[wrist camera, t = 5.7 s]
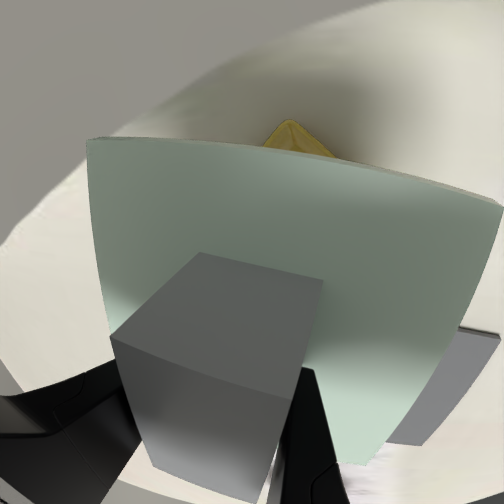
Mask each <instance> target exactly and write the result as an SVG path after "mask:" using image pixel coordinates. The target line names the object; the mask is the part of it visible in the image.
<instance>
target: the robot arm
mask: <svg viewBox="0 0 504 504" xmlns="http://www.w3.org/2000/svg"><path fill="white" fill-rule="evenodd" d="M141 441H142V438H141V435H140V433H139V430H138V427H137V425H136V422H135V419H134V416H133V413H132V411H131V408H130V405H129V402H128V399H127V396H126V393H125V390H124V386H123V383H122V380H121V377H120V373H119V370H118V366H117V363H116V359H113V360H111V361H109V362H106V363H104V364H102V365H100V366H97V367H95V368H93V369H91V370H88V371H86V373H85V372H83V373H81V374H79V375H76V376H74V377H71V378H69V379H66V380H64V381H61V382H58V383H55V384H52V385H49V386H46V387H43V388H39V389H36V390H32V391H29V392H25V393H22V394H18V395H13V396H2V395H0V504H100V503H101V502H102V500H103V499H104V497H105V496H106V494H107V493H108V491H109V489H110V488H111V487H112V485H113V483H114V482H115V481H116V479H117V478H118V476H119V475H120V473H121V471H122V470H123V468H124V467H125V465H126V464H127V462H128V461H129V459H130V458H131V456H132V455H133V453H134V452H135V450H136V449H137V447H138V446H139V444H140V443H141ZM336 462H337V457H336V453H335V449H334V445H333V441H332V437H331V433H330V429H329V425H328V421H327V417H326V413H325V409H324V405H323V401H322V398H321V394H320V390H319V386H318V382H317V378H316V375H315V371H314V370H313V369H311V368H306V367H301V371H300V374H299V378H298V381H297V385H296V388H295V392H294V395H293V398H292V402H291V405H290V408H289V411H288V415H287V418H286V421H285V424H284V427H283V430H282V433H281V436H280V439H279V443H278V449H277V454H276V459H275V464H274V469H273V474H272V479H271V484H270V489H269V493H268V498H267V503H266V504H350V502H349V499H348V497H347V494H346V491H345V488H344V484H343V481H342V477H341V473H340V469H339V465H338V463H336Z"/></svg>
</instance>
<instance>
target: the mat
mask: <svg viewBox="0 0 504 504" xmlns="http://www.w3.org/2000/svg"><path fill="white" fill-rule="evenodd" d="M500 341H501V338H500V336H498V335H493V334H487V333H482V332H477V331H472V330H467V329H463V328H458V329H457V331H456V333H455V335H454V337H453V339H452V341H451V343H450V344H449V346H448V348H447V350H446V352H445V354H444V355H443V357H442V359H441V361H440V362H439V364H438V366H437V367H436V369H435V371H434V372H433V374H432V376H431V377H430V379H429V381H428V382H427V384H426V385H425V387H424V389H423V390H422V392H421V393H420V395H419V396H418V398H417V399H416V401H415V402H414V404H413V405H412V407H411V408H410V409H409V411H408V412H407V414H406V415H405V416H404V418H403V419H402V421H401V422H400V423H399V425H398V426H397V427H396V429H395V430H394V431H393V433H392V434H391V435H390V437H389V438H388V439H387V440H386V442H388V443H395V444H404V445H414V446H422V445H423V443H424V442H425V441H426V440H427V439H428V438H429V437H430V436H431V435H432V434H433V433H434V431H435V430H436V429H437V428H438V427H439V426H440V425H441V423H442V422H443V421H444V420H445V419H446V418H447V416H448V415H449V414H450V413H451V411H452V410H453V409H454V408H455V406H456V405H457V404H458V403H459V401H460V400H461V399H462V397H463V396H464V395H465V394H466V392H467V391H468V389H469V388H470V387H471V385H472V384H473V383H474V381H475V380H476V378H477V377H478V375H479V374H480V373H481V371H482V370H483V368H484V367H485V365H486V364H487V362H488V361H489V359H490V357H491V356H492V354H493V353H494V351H495V349H496V348H497V346H498V345H499V343H500Z"/></svg>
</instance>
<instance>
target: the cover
mask: <svg viewBox="0 0 504 504" xmlns="http://www.w3.org/2000/svg"><path fill="white" fill-rule="evenodd" d="M86 144H87V145H86V147H87V173H88V189H89V202H90V213H91V222H92V231H93V239H94V246H95V254H96V260H97V267H98V273H99V278H100V284H101V290H102V295H103V300H104V305H105V310H106V314H107V319H108V323H109V328H110V332H111V335H110V340H111V344H112V348H113V352H114V356H115V359H116V363H117V366H118V370H119V373H120V377H121V380H122V383H123V386H124V390H125V393H126V396H127V399H128V402H129V405H130V408H131V411H132V413H133V416H134V419H135V422H136V425H137V427H138V430H139V433H140V435H141V438H142V440H143V443H144V445H145V448H146V450H147V453H148V455H149V458H150V460H151V462H152V465H153V467H156V468H158V469H160V470H162V471H164V472H167V473H169V474H171V475H173V476H176V477H178V478H180V479H183V480H185V481H188V482H190V483H193V484H195V485H198V486H201V487H203V488H206V489H209V490H212V491H214V492H217V493H220V494H223V495H226V496H229V497H232V498H236V499H239V500H242V501H246V502H249V503H253V504H256V503H257V501H258V498H259V495H260V493H261V490H262V487H263V485H264V482H265V479H266V477H267V474H268V471H269V468H270V466H271V463H272V460H273V457H274V454H275V451H276V449H278V443H279V439H280V436H281V433H282V430H283V427H284V424H285V421H286V418H287V415H288V411H289V408H290V405H291V402H292V398H293V395H294V392H295V388H296V385H297V381H298V378H299V374H300V371H301V367H306V368H311V369H313V370H314V371H315V375H316V378H317V382H318V386H319V390H320V394H321V398H322V401H323V405H324V409H325V413H326V417H327V421H328V425H329V429H330V433H331V437H332V441H333V445H334V449H335V453H336V457H337V462H342V463H349V464H356V465H363V466H366V465H367V463H368V462H369V461H370V460H371V459H372V458H373V456H374V455H375V454H376V453H377V452H378V450H379V449H380V448H381V447H382V445H383V444H384V443H385V442H386V440H387V439H388V438H389V437H390V435H391V434H392V433H393V431H394V430H395V429H396V427H397V426H398V425H399V423H400V422H401V421H402V419H403V418H404V416H405V415H406V414H407V412H408V411H409V409H410V408H411V407H412V405H413V404H414V402H415V401H416V399H417V398H418V396H419V395H420V393H421V392H422V390H423V389H424V387H425V385H426V384H427V382H428V381H429V379H430V377H431V376H432V374H433V372H434V371H435V369H436V367H437V366H438V364H439V362H440V361H441V359H442V357H443V355H444V354H445V352H446V350H447V348H448V346H449V344H450V343H451V341H452V339H453V337H454V335H455V333H456V331H457V329H458V327H459V325H460V323H461V321H462V319H463V317H464V315H465V313H466V311H467V308H468V306H469V304H470V302H471V300H472V297H473V295H474V293H475V290H476V288H477V286H478V283H479V281H480V278H481V276H482V273H483V271H484V268H485V266H486V263H487V260H488V258H489V255H490V252H491V249H492V246H493V243H494V240H495V237H496V234H497V231H498V228H499V225H500V221H501V218H502V214H503V211H504V207H503V206H502V205H500V204H499V203H497V202H496V201H495V200H493V199H491V198H488V197H485V196H482V195H479V194H476V193H472V192H469V191H466V190H463V189H460V188H456V187H453V186H450V185H446V184H443V183H439V182H436V181H432V180H428V179H425V178H421V177H417V176H413V175H409V174H405V173H401V172H397V171H393V170H389V169H384V168H380V167H375V166H371V165H366V164H361V163H357V162H352V161H347V160H341V159H336V158H331V157H325V156H320V155H314V154H308V153H302V152H295V151H289V150H282V149H275V148H267V147H259V146H251V145H242V144H233V143H223V142H213V141H201V140H187V139H171V138H149V137H99V138H94V139H89V140H87V141H86Z"/></svg>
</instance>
